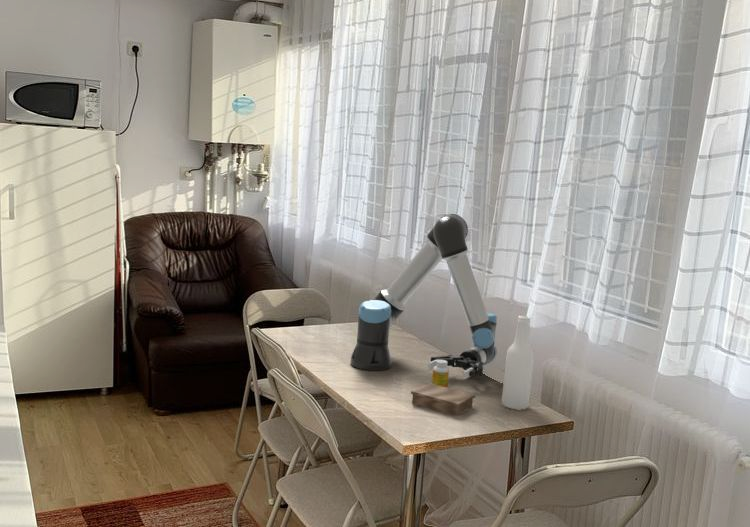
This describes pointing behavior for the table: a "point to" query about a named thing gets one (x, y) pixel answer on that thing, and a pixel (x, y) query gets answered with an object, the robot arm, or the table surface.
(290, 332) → the table surface
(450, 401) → the stand
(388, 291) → the robot arm
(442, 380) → the supplement bottle
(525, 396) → the alcohol
